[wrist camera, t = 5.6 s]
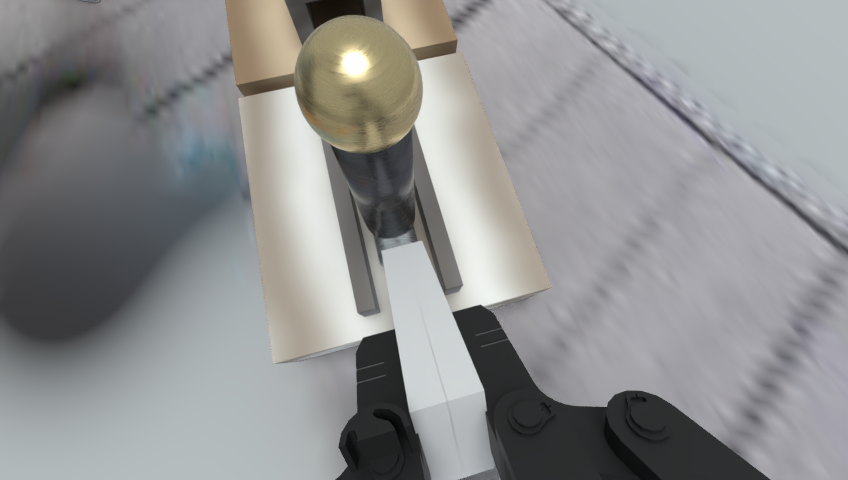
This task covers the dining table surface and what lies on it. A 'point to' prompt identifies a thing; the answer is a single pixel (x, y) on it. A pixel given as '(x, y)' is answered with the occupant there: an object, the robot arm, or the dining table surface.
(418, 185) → the door and jamb
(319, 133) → the bolt
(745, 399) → the dining table surface
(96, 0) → the lighter
